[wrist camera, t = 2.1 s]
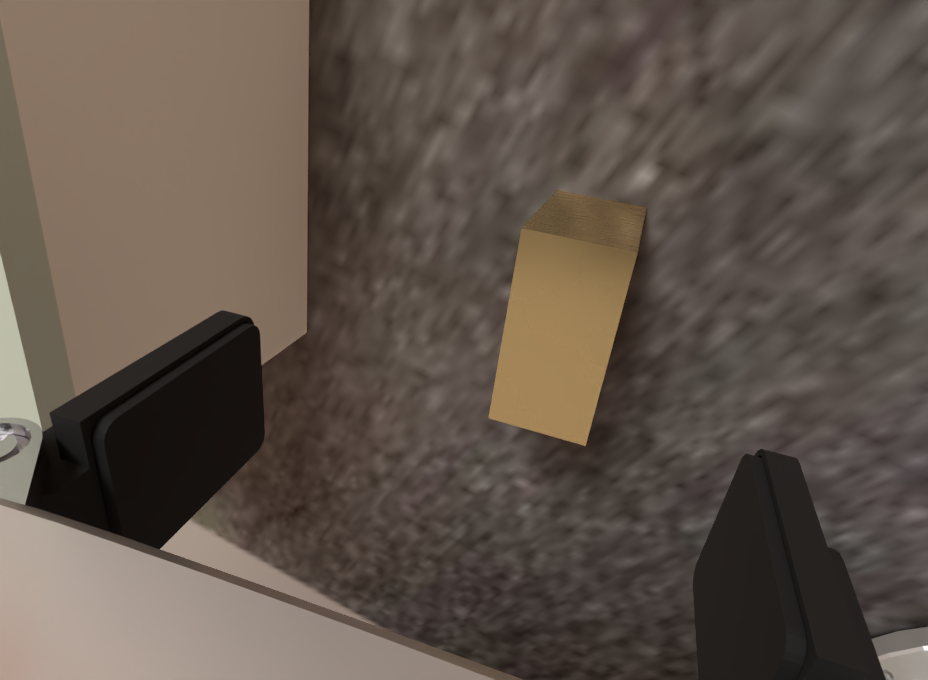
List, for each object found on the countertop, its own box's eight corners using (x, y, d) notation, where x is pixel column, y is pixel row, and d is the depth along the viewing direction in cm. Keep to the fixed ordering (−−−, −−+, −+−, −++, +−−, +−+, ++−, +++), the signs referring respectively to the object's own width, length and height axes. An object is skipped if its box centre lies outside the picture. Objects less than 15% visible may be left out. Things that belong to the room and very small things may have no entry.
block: (604, 364, 22) (585, 446, 18) (527, 345, 23) (488, 417, 18) (646, 207, 20) (637, 252, 15) (557, 190, 20) (521, 227, 16)
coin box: (306, 332, 26) (61, 510, 16) (51, 262, 29) (-297, 372, 19) (310, -205, 18) (-197, -580, 7) (-45, -223, 21) (-754, -506, 11)
